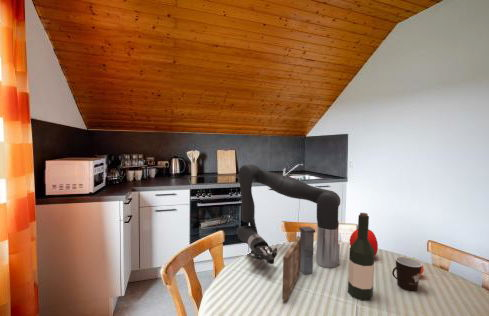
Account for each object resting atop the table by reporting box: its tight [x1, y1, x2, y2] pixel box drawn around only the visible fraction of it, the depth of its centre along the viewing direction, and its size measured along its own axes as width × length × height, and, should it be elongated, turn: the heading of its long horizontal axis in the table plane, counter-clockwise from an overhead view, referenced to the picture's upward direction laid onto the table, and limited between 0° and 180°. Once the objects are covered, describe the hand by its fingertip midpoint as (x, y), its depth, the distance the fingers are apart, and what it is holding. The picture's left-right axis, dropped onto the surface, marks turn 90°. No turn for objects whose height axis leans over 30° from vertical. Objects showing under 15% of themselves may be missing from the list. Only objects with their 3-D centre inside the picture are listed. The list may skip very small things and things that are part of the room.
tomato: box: [349, 228, 379, 256], centre depth 123 cm, size 13×11×14 cm
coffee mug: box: [391, 256, 423, 292], centre depth 97 cm, size 12×9×10 cm
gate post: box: [298, 226, 316, 276], centre depth 107 cm, size 5×5×19 cm
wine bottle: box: [347, 212, 376, 302], centre depth 91 cm, size 8×8×30 cm
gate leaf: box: [281, 236, 301, 301], centre depth 96 cm, size 22×2×15 cm, turn 156°
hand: (272, 261), depth 100 cm, fingers closed
